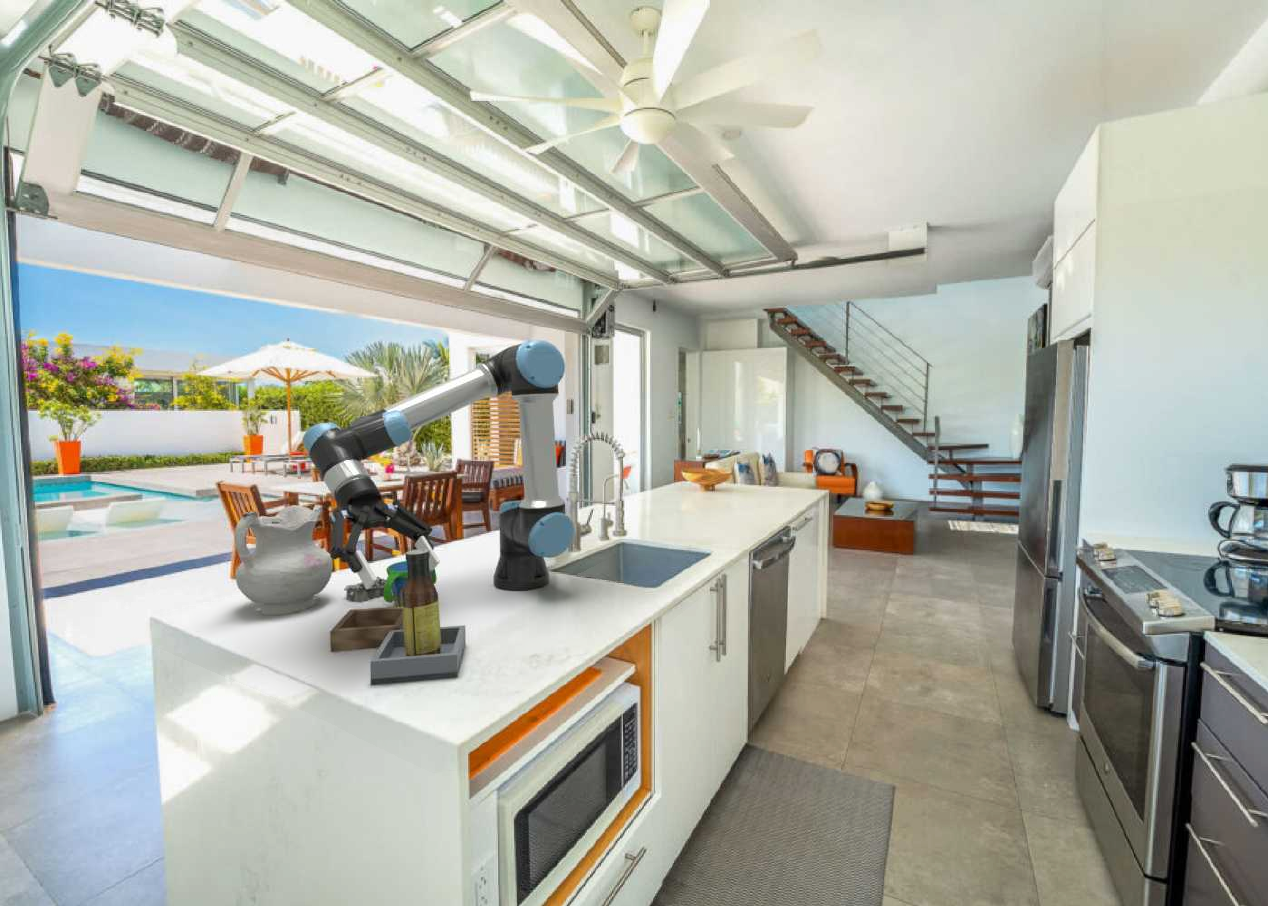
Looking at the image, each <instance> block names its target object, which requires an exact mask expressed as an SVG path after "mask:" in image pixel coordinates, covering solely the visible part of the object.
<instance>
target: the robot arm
mask: <svg viewBox="0 0 1268 906" xmlns="http://www.w3.org/2000/svg"><path fill="white" fill-rule="evenodd" d="M565 364H566V363H565V360H564V357H563V353H562V352H561V351H560V350H559V348H557V347H556V346H555V345H554V344H553V343H551V342H550V341H546V340H542V339H536V340H535V339H533V340H527V341H524V342H523V343H518V344H515V345H511V346H508V347H507V348H505V349H503V350H501V351H500V352H498V353H496V354H495V355H493V356H491V357H489V358H487V359H485V360H483V361H481V362H478V363H477V364H476V366H475V369H473V370H470V371H468V372H465V373H463V374H461V375H460V374H459V375H458V376H456V377H454V378H451V379H449V380H447V381H445V382H442V383H439V384H437V385H435V386H433V387H430V388H428V389H426V390H423V391H420V392H418V393H417V394H414V395H411V396H409V397H407V398H404V399H402V400H400V401H397V402H396V403H395V402H394V403H393V404H391V405H388V406H386V407H384V408H382V409H380V410H377V411H374V412H372V413H370V414H368V415H363V416H360V417H357V418H356V419H354V420H352V422H351V424H350V425H348V426H346V427H343V428H341V427H340V426H339V425H338V424H336V423H334V422H331V421H330V422H326V423H325V422H320V423H316V424H315V425H313V426H311V427H310V428H308V429H307V430H306V431H305V433H304V434H303V437H302V444H303V447H304V448H305V451H306V453H307V455H308V457H309V460H311V462H312V464H313V466H315V470H317V472H318V473H319V475H320V477H321V478H322V480H323V481H324V483H325V485H326V487H327V489H328V490H329V492H330V493H331V495H332V497H334V501H335V502H336V504H337V506H338V507H334V508H333V510H332V512H330V515H329V516H328V520H329V523H330V524H331V535H330V536H331V537H330V552H329V554H330V557H331V558H332V560H337V559H340V562H341V563H347V565H348V567H349V568H350V571H351V572H352V573H353V574H357V576H358V577H359V579H360V581H361V583H362V582H363V584H364V586H365V587H366V589H370V588H371V587H372V586H373V584H374V583H375V582H376V580H377V578H376V577H377V576H376V574H375V573H374V571H373V570H372V568H371V566H370V564H369V563H368V561H367V560H366V558H365V556H364V554H363V552H362V551H361V549H358V550H356V547H357V545H358V542H359V540H360V536H361V533H362V530H363V529H364V530H370V529H372V528H375V529H376V528H381V527H382V528H384V529H390V530H393V531H394V532H396V533H398V534H400V535H402V536H404V537H406V538H408V539H409V540H412V541H414V542H415V543H414V547H415V548H416V550H417V549H426V550H429V555H430V557H429V569H430V571H431V570H434V569H435V570H436V567H437V566H438V565H439V564H440V562H441V561H440V559H439V558H438V556H437V554H436V552H435V551H434V549H435V548H434V546H433V543H431V541H430V539H429V535H431V533H432V532H433V528H432V526H430V525H429V524H428V523H426V522H424V521H423V520H422V519H421V518H419V517H418V516H416V515H415V514H414V513H413V512H411V511H410V510H409V509H407V508H406V507H405V506H404V505H403V504H402V503H401V501H400V500H399V499H396V498H395V499H393V501H392V502H391V503H386V502H384V501H383V499H382V494H381V492H380V490H379V488H378V486H377V485H376V484H375V481H374V480H373V479H372V477H371V475H370V474H369V472H368V471H367V469H366V467H365V466H364V464H363V463H362V462H363V461H365V460H367V459H369V458H371V457H375V456H376V455H379V454H381V453H384V452H387V451H390V450H391V449H394V448H399V447H401V446H403V445H404V444H405V443H408V442H410V441H411V440H412V438H413V431H415V430H417V429H419V428H421V427H424V426H426V425H428V424H430V423H432V422H435V421H437V420H438V419H441V418H443V417H445V416H448V415H450V414H452V413H454V412H456V411H459V410H461V409H463V408H465V407H467V406H469V405H473V403H476V402H478V401H480V400H482V399H484V398H487V397H491V398H497V397H498V396H500V395H504V394H505V393H509V392H510V393H511V398H512V399H513V400H515V401H516V403H517V404H518V416H519V417H518V418H519V432H520V433H519V434H520V444H521V445H520V447H521V461H522V476H523V492H524V493H523V494H524V498H523V499H521V500H512V501H505V502H502V503H500V505H499V513H498V517H499V519H498V521H499V559H498V560H497V561H498V562H497V564H496V567H495V571H494V575H493V585H494V587H496V588H498V589H500V590H508V591H526V590H533V589H537V588H541V587H544V586H546V585H548V584H549V583H550V573H549V569H548V566H547V563H546V560H545V558H548V559H550V558H551V559H552V558H556V557H559V556H561V555H562V554H564V553H565V552H566V551H567V550H568V549H569V547H571V544H572V542H573V540H574V536H575V526H574V525H575V524H574V522H573V521H572V519H571V518H570V516H568V515H567V514H566V512H567V511H566V501H565V500H564V499H563V498H562V497H561V496H560V494H559V482H558V481H559V480H558V465H557V464H558V463H557V447H556V446H557V445H556V432H555V431H556V430H555V413H554V401H555V400H556V399H557V398H558V396H560V394H559V383H560V381H561V380H562V379H563V377H564V375H565V369H566V365H565ZM388 518H389V519H388ZM345 519H346V520H347V521H349V522H351V523H353V524H352V527H351V530H350V534H349V537H348V539H347V542H346V545H345V547H344V542H345V541H344V540H345V539H344V537H345V536H344V534H345ZM387 519H388V520H387ZM355 550H356V551H355Z"/></svg>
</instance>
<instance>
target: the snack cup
mask: <svg viewBox="0 0 1268 906" xmlns="http://www.w3.org/2000/svg"><path fill="white" fill-rule="evenodd" d="M429 570H430V569H429ZM386 573H387V577H386V579H385V580H386V583H385V588H384V594H382V596H383V600H384V601H385V602H386V603H388V604H389V603H393V604H394V607H401V606H402V604H403V599H402V589H403V587H404V585H405V583H406V581H407V578H408V575H407V573H408V570H407V561H406V560H403V561H398V562H394V563H392V564H390V565H388V566H387V567H386ZM430 575H431V578H432V580H433V583H434V585H435V584H436V582H437V579H438V578H437V572H436V568H435V569H434V570H431V571H430Z"/></svg>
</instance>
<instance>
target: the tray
mask: <svg viewBox="0 0 1268 906" xmlns="http://www.w3.org/2000/svg"><path fill="white" fill-rule="evenodd" d="M440 632H441V646H440V648H441V653H440V654H431V655H419V656H406V653H405V643H404V630H391V631H390V632H389V633H388V635H387V636H386V638H385V639H384V641H383V643H382V644H381V646H380V647H379V648H377V650H376V652H375V654H374V655H373V656H372V658H371V660H370V664H369V665H370V685H371V686H372V685H374V686H375V685H383V684H384V685H386V684H397V683H406V682H418V681H428V680H429V681H431V680H440V679H441V680H443V679H452V678H453V679H455V678H459V677H458V676H459V672H460V669H461V665H462V661H463V657H464V653H465V648H466V644H467V642H466V640H467V639H466V638H467V637H466V624H464V625H463V624H462V625H454V626H453V625H450V626H449V625H448V626H440Z"/></svg>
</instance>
